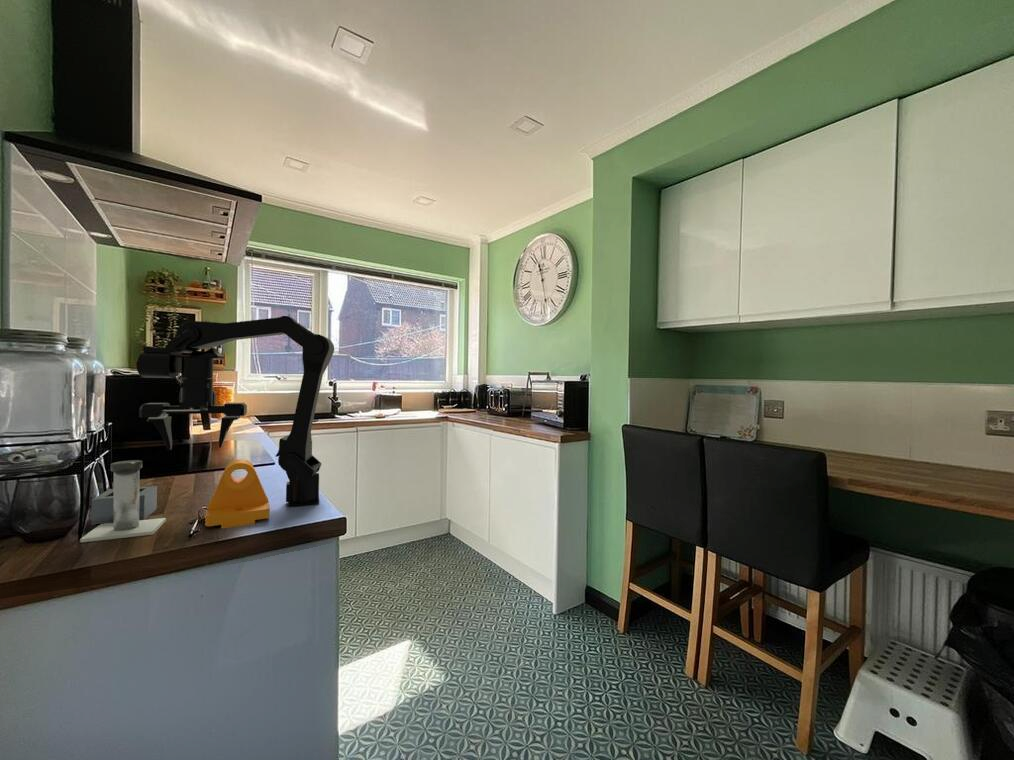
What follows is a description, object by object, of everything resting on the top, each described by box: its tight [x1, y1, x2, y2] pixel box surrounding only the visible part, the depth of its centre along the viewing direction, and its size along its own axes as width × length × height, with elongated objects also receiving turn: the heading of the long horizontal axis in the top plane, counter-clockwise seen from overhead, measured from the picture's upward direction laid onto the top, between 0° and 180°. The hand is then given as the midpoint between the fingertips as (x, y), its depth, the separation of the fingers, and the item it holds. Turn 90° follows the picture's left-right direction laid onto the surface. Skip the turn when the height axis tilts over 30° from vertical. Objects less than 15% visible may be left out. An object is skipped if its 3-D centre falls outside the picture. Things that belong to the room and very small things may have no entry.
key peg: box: [110, 459, 143, 531], centre depth 79 cm, size 4×4×12 cm
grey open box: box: [90, 485, 158, 526], centre depth 86 cm, size 8×8×5 cm
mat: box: [79, 517, 167, 543], centre depth 79 cm, size 10×8×1 cm
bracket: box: [204, 458, 271, 529], centre depth 86 cm, size 11×7×12 cm, turn 122°
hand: (195, 448), depth 94 cm, fingers open, 9 cm apart
